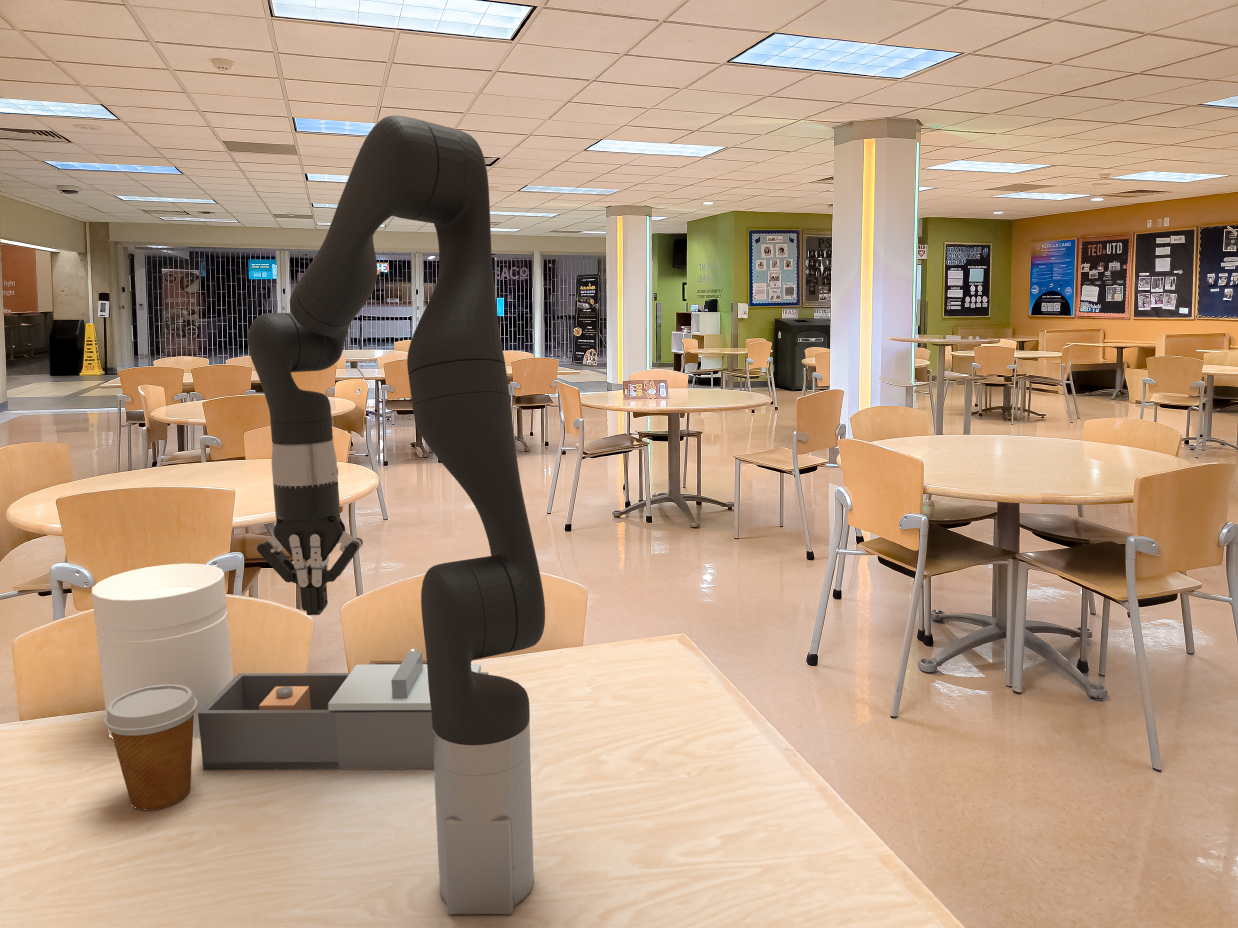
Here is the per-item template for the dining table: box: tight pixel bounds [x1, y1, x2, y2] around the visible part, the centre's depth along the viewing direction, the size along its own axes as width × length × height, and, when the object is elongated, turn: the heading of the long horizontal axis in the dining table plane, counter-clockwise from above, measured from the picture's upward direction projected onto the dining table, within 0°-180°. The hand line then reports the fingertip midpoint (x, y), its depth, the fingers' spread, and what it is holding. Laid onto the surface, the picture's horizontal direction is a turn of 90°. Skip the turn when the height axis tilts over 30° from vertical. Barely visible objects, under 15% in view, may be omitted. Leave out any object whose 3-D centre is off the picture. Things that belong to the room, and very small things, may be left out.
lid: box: [328, 651, 482, 710], centre depth 113 cm, size 12×17×3 cm
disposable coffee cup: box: [103, 684, 198, 811], centre depth 102 cm, size 10×10×12 cm
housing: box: [198, 671, 490, 771], centre depth 114 cm, size 12×35×8 cm, turn 90°
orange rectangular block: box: [259, 686, 311, 710], centre depth 114 cm, size 6×4×7 cm
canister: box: [91, 563, 234, 738], centre depth 121 cm, size 16×16×20 cm
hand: (315, 613), depth 111 cm, fingers closed
